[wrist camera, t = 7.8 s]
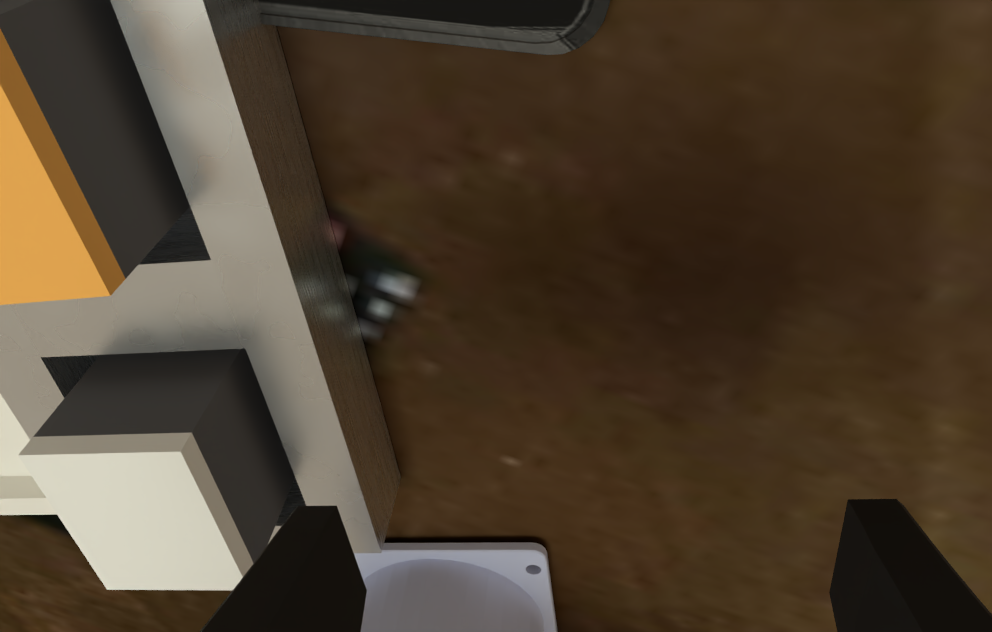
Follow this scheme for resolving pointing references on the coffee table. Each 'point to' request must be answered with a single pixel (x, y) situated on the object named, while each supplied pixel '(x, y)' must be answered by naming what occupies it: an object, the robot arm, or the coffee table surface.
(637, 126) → the coffee table surface
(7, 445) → the tray
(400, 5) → the phone
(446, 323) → the coffee table surface
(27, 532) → the coffee table surface
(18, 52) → the plug
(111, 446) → the twin plug
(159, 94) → the block
